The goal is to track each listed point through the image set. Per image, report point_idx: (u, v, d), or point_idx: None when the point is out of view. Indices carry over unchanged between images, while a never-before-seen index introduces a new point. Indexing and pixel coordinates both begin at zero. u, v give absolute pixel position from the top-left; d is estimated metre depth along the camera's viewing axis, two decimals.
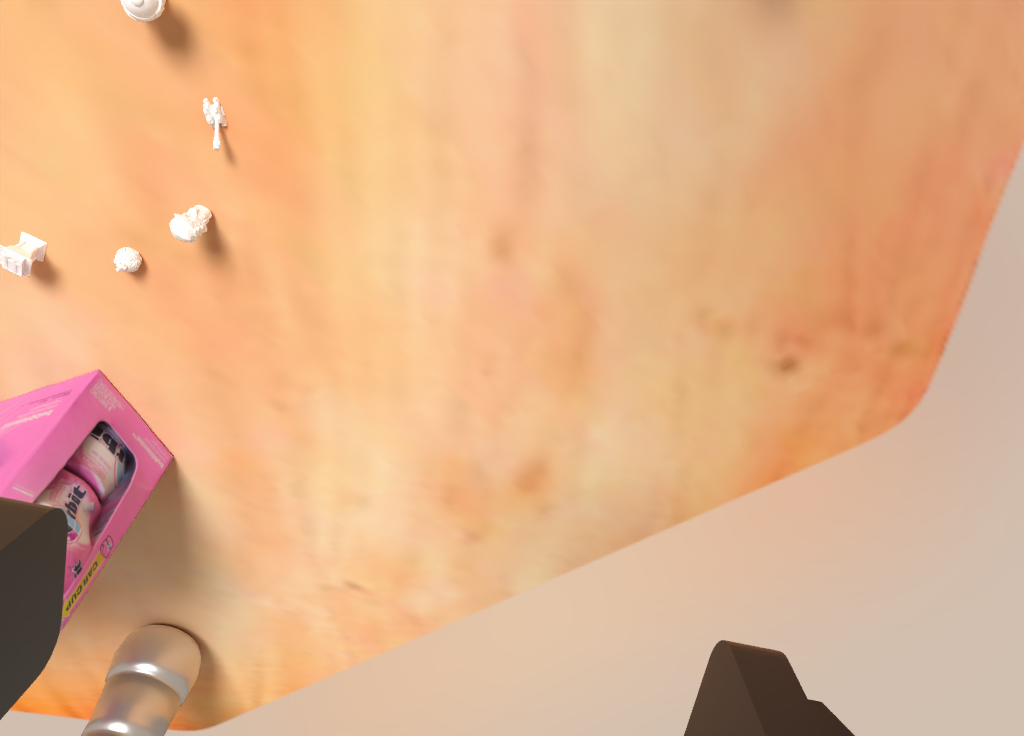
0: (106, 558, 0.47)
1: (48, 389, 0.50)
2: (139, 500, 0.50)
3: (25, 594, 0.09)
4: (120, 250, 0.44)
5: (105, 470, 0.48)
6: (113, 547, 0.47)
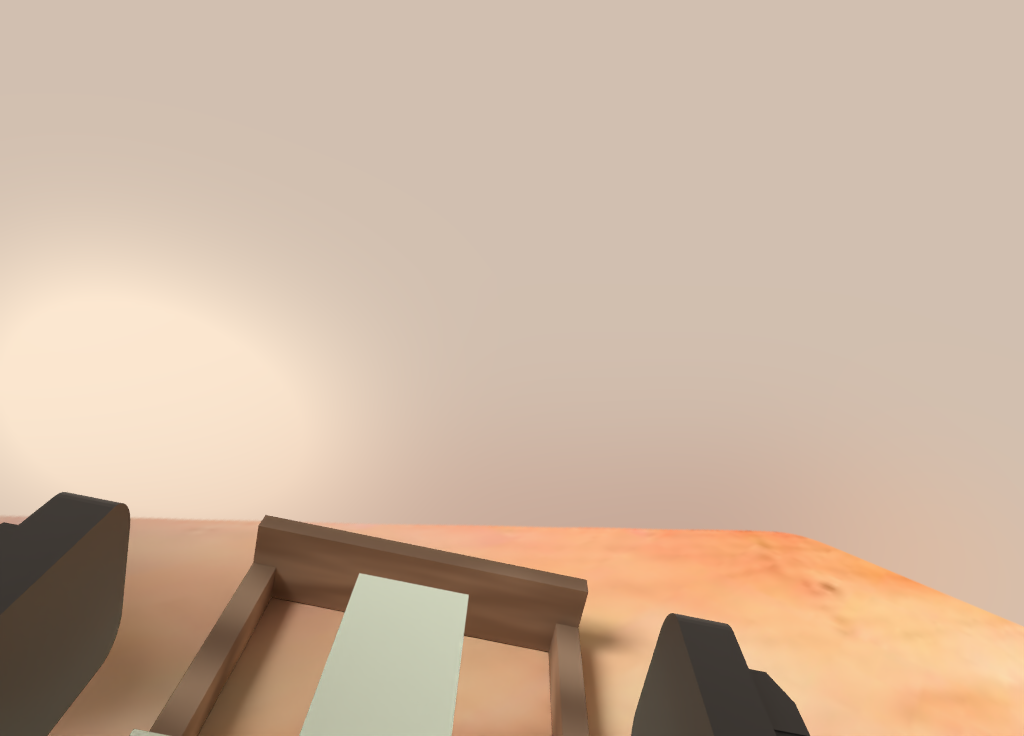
0: None
1: None
2: None
3: (93, 586, 0.09)
4: None
5: None
6: None
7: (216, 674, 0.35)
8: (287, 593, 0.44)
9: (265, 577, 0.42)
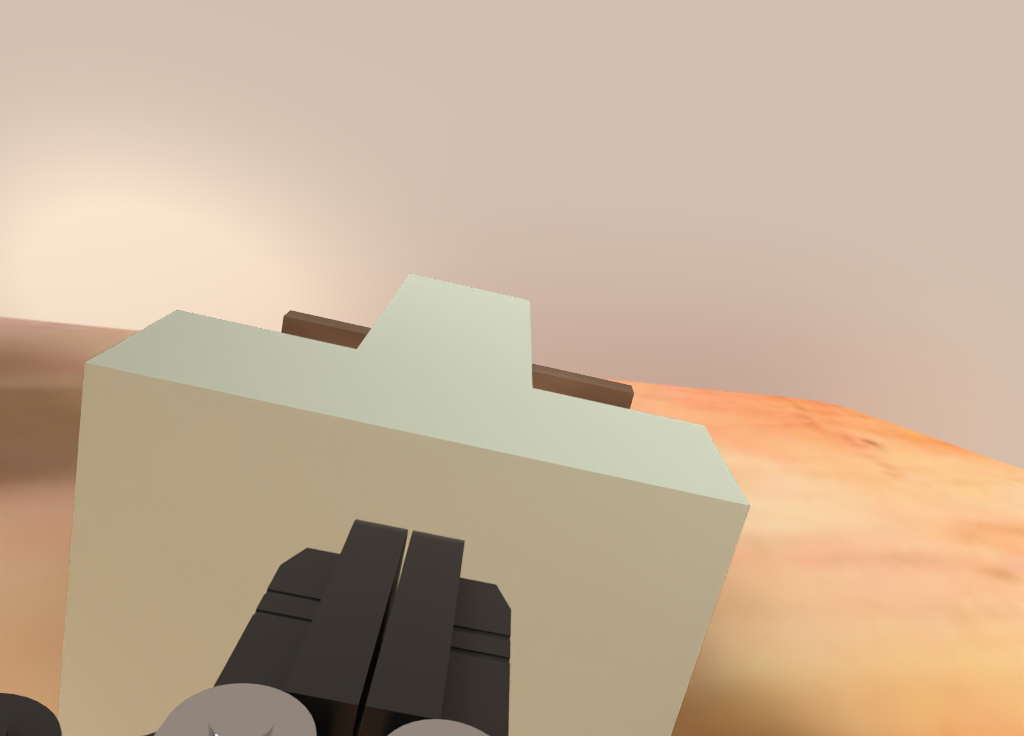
0: None
1: None
2: None
3: (391, 605, 0.10)
4: None
5: None
6: None
7: None
8: None
9: None
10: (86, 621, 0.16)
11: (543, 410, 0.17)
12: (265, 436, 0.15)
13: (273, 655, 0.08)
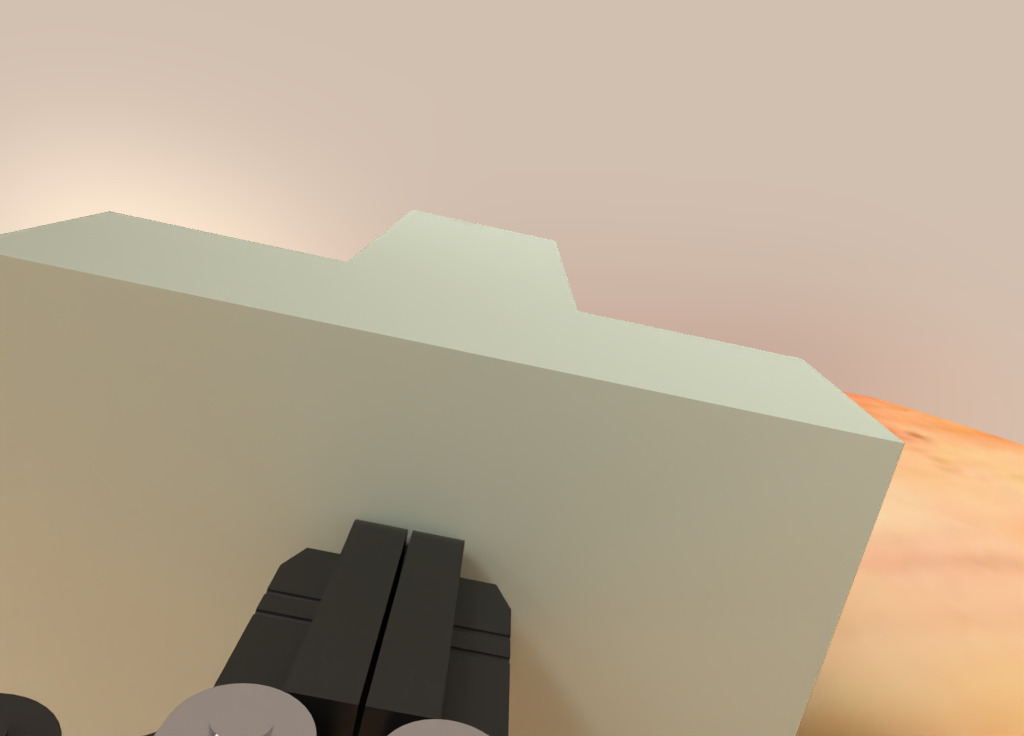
0: None
1: None
2: None
3: (390, 605, 0.10)
4: None
5: None
6: None
7: None
8: None
9: None
10: None
11: (597, 332, 0.13)
12: (215, 351, 0.10)
13: (273, 655, 0.08)
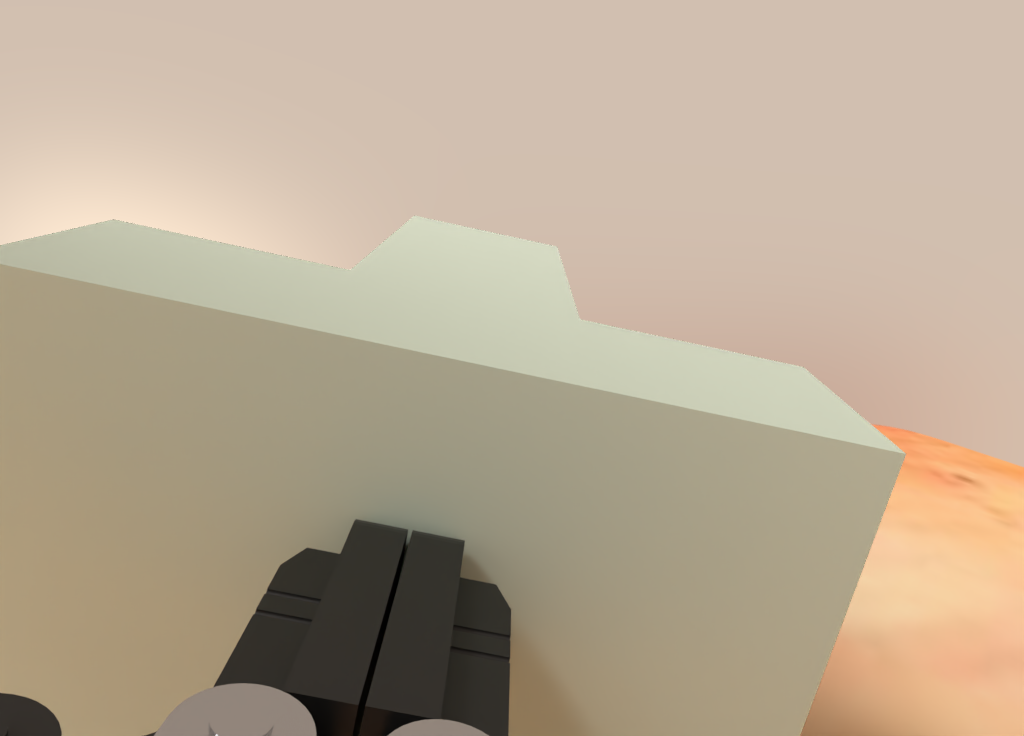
0: None
1: None
2: None
3: (390, 605, 0.10)
4: None
5: None
6: None
7: None
8: None
9: None
10: None
11: (600, 340, 0.13)
12: (219, 362, 0.10)
13: (273, 655, 0.08)
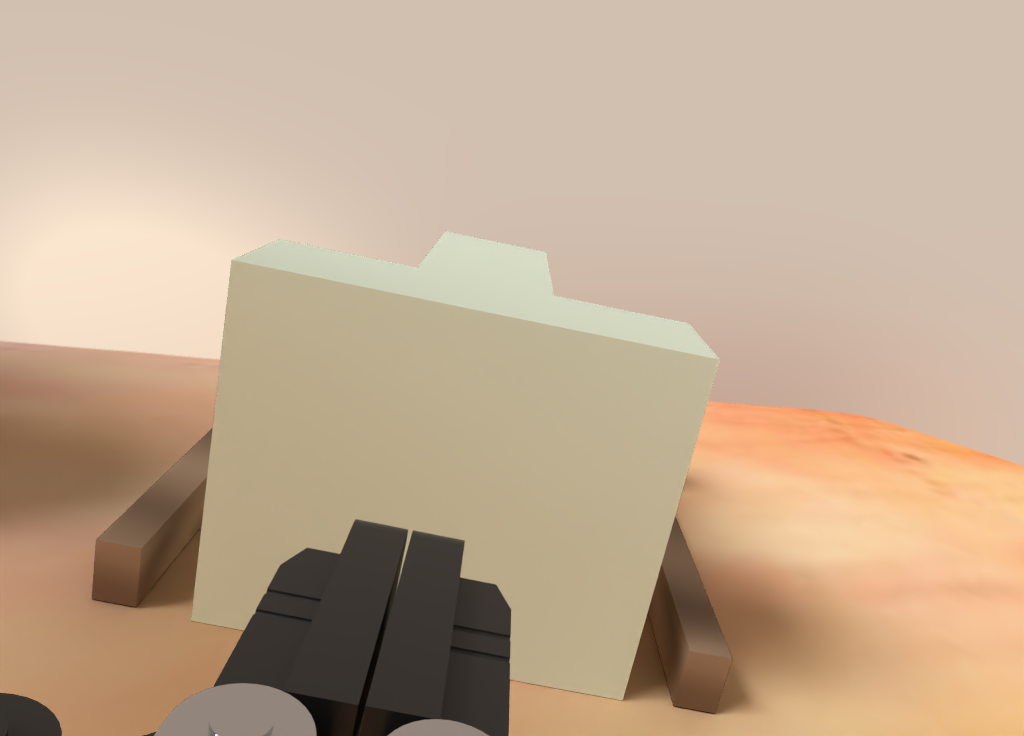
0: None
1: None
2: None
3: (390, 605, 0.10)
4: None
5: None
6: None
7: None
8: None
9: None
10: (225, 463, 0.21)
11: (563, 306, 0.23)
12: (362, 313, 0.20)
13: (273, 655, 0.08)
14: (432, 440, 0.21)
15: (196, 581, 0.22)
